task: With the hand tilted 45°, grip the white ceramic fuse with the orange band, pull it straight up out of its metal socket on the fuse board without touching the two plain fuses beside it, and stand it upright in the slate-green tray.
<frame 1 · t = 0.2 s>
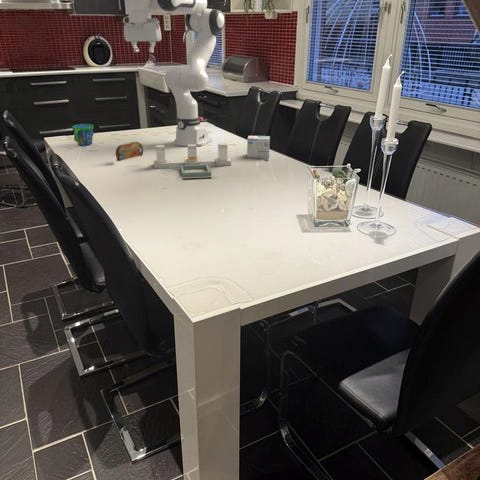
hand: (144, 52, 211), 48 cm above the table, tool pointing down, fingers open, 8 cm apart
light bulb box: (258, 159, 228), on the table
tray: (195, 175, 200), on the table
plain fuse B: (161, 166, 208), point 1 cm above the table, touching fuse board
snack cup: (85, 145, 250), on the table
fuse board: (192, 168, 211), on the table
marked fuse: (192, 164, 211), point 1 cm above the table, touching fuse board
plain fuse A: (222, 163, 213), point 1 cm above the table, touching fuse board
tin: (130, 161, 222), on the table
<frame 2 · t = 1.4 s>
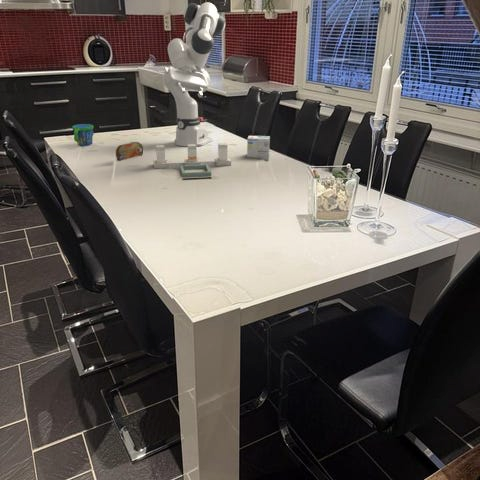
hand: (192, 94, 205), 31 cm above the table, tool tilted 45°, fingers open, 8 cm apart
nothing on the table moved.
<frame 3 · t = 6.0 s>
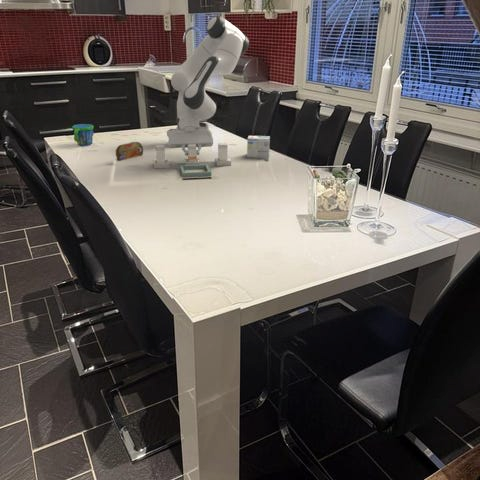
hand: (192, 154, 208), 6 cm above the table, tool tilted 45°, fingers closed on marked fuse, 4 cm apart
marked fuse: (192, 164, 211), point 2 cm above the table, touching fuse board, gripper
everything else where it was.
when the fingers open (7 cm above the table, at t = 13.0 s): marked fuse drops 2 cm, resting on tray.
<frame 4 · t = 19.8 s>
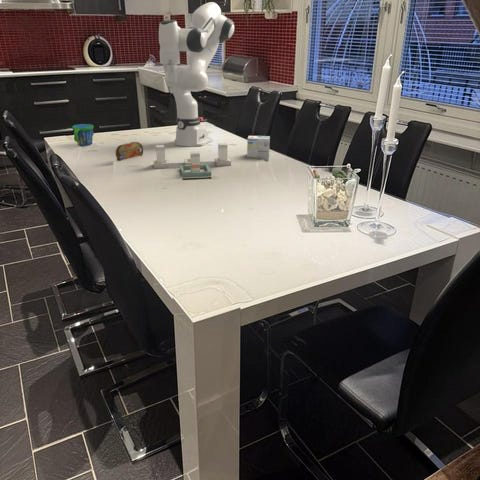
hand: (171, 91, 214), 31 cm above the table, tool pointing down, fingers open, 8 cm apart
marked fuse: (195, 173, 200), point 1 cm above the table, touching tray
everything else where it was.
at the end: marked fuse inside the target area on the tray (0.0 cm from its centre), point 1.0 cm above the tray's base; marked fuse tilted 0°; plain fuse A moved 0.0 cm from its start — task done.
